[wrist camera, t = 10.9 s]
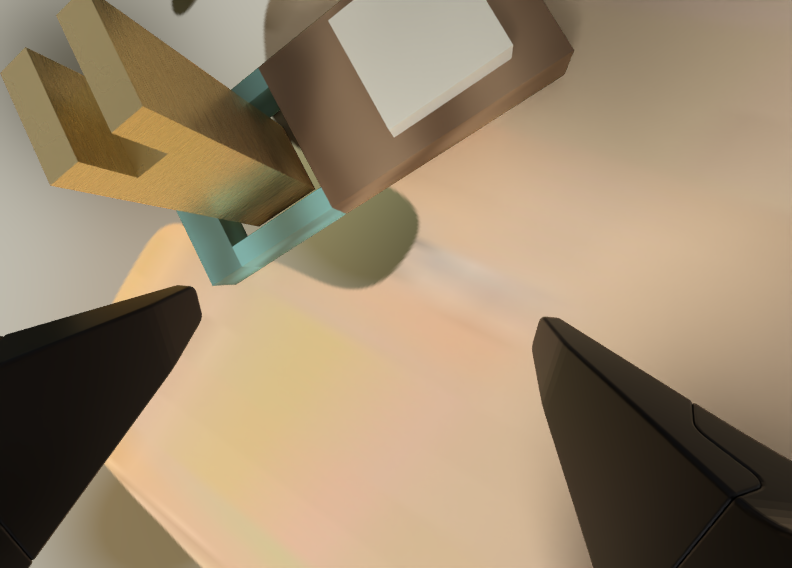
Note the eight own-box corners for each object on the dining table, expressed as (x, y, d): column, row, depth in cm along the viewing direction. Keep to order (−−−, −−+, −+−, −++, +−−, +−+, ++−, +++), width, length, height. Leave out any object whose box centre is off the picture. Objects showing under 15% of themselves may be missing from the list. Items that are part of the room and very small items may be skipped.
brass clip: (315, 189, 21) (142, 106, 10) (259, 226, 22) (49, 185, 12) (282, 127, 22) (84, -15, 11) (229, 166, 23) (0, 73, 12)
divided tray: (235, 284, 23) (199, 286, 20) (177, 165, 23) (134, 150, 21) (564, 74, 18) (579, 35, 15) (475, -69, 18) (474, -133, 15)
